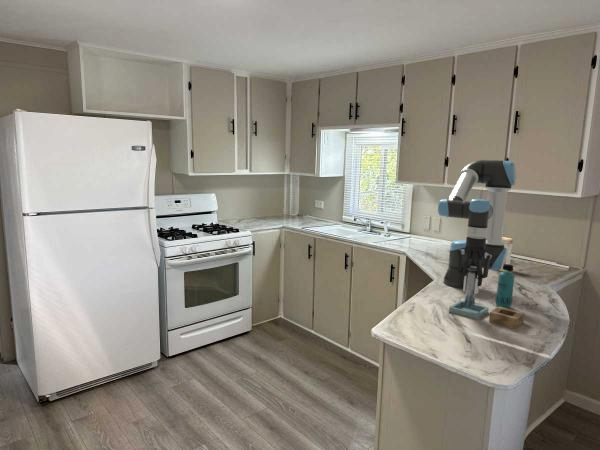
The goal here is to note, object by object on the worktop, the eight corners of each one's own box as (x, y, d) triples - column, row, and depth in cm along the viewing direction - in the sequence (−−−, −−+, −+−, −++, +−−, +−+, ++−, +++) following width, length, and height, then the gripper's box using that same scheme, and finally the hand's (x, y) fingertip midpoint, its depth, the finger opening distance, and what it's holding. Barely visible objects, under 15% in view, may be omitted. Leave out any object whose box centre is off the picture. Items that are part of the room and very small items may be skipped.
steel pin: (461, 304, 179) (465, 267, 177) (465, 302, 183) (469, 265, 180) (472, 307, 176) (476, 269, 174) (477, 305, 180) (481, 267, 177)
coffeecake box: (479, 266, 263) (483, 235, 260) (485, 264, 267) (488, 234, 264) (504, 272, 252) (508, 239, 249) (509, 270, 256) (513, 238, 253)
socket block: (488, 324, 170) (489, 312, 169) (497, 317, 177) (498, 306, 177) (515, 331, 163) (517, 319, 163) (523, 324, 171) (524, 312, 170)
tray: (448, 313, 180) (449, 307, 179) (460, 307, 189) (460, 300, 188) (477, 321, 172) (478, 314, 171) (487, 314, 181) (488, 307, 180)
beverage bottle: (497, 304, 194) (501, 261, 190) (512, 308, 189) (518, 264, 186) (492, 308, 188) (497, 264, 185) (509, 312, 184) (514, 267, 181)
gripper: (452, 234, 178) (447, 288, 182) (494, 241, 167) (488, 298, 170) (459, 233, 183) (454, 285, 187) (501, 239, 172) (494, 294, 176)
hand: (470, 291), depth 179 cm, fingers closed on steel pin, 4 cm apart
